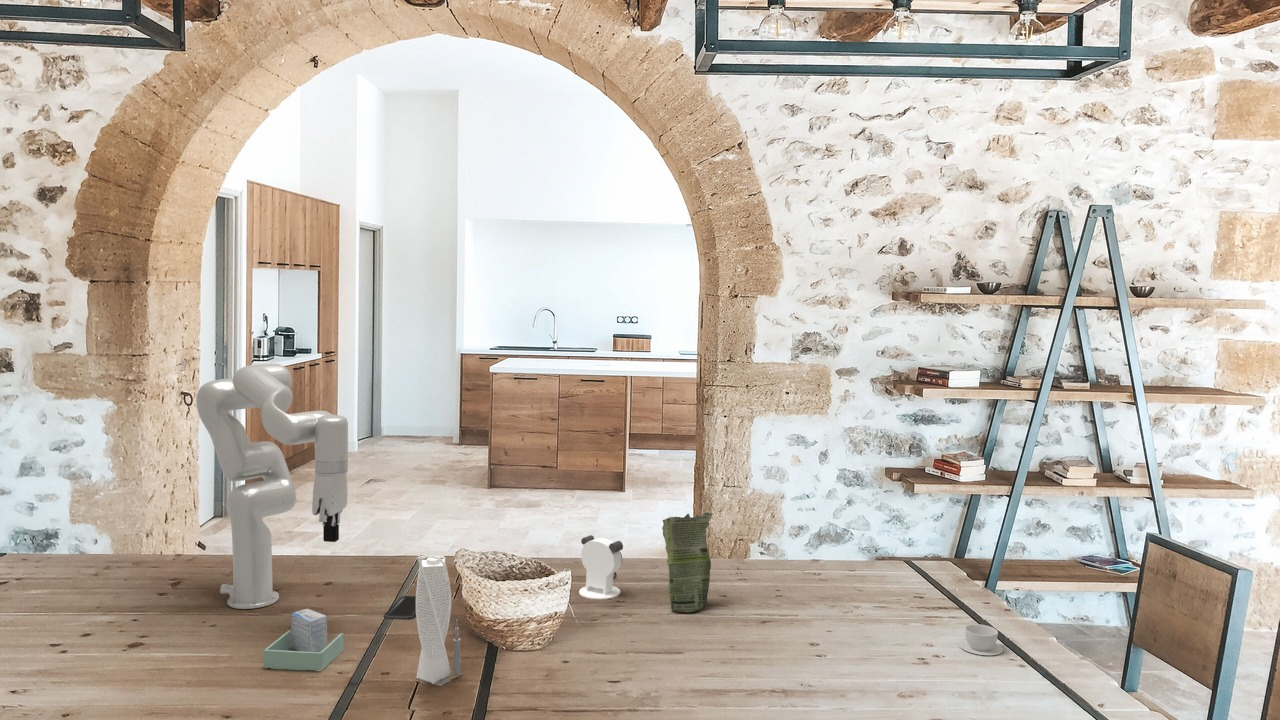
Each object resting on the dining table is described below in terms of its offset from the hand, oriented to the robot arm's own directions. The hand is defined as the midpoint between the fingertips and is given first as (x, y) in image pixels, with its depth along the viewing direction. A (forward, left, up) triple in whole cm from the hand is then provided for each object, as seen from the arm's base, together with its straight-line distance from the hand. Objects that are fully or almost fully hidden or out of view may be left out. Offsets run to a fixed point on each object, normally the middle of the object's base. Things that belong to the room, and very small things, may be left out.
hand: (331, 540), depth 227 cm
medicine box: (+1, -14, -22) cm, 26 cm away
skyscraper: (+34, -25, -22) cm, 47 cm away
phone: (+14, +15, -22) cm, 30 cm away
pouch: (+86, +26, -22) cm, 92 cm away
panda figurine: (+62, +34, -22) cm, 74 cm away
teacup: (+156, +7, -22) cm, 158 cm away
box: (+2, -19, -22) cm, 29 cm away
